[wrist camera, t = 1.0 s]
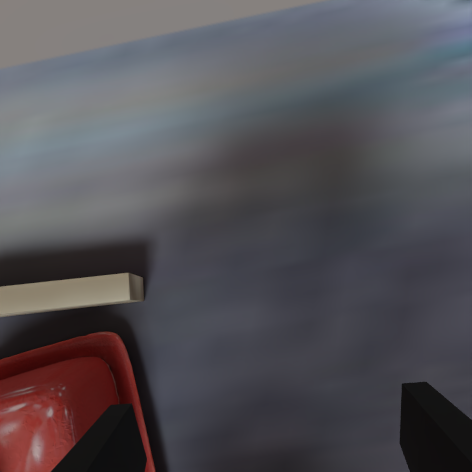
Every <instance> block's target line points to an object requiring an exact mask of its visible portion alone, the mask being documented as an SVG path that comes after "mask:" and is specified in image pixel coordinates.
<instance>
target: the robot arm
mask: <svg viewBox="0 0 472 472" xmlns="http://www.w3.org/2000/svg"><path fill="white" fill-rule="evenodd" d="M400 446H401V448H402V451H403V454H404V456H405V459H406V462H407V465H408V467H409V470H410V472H472V420H471V419H470V418H469V417H467V416H466V415H465V414H464V413H463V412H461V411H460V410H459V409H458V408H457V407H456V406H454V405H453V404H452V403H451V402H450V401H448V400H447V399H446V398H445V397H444V396H443V395H441V394H440V393H439V392H438V391H437V390H435V389H434V388H433V387H432V386H431V385H429V384H428V383H427V382H418V383H404V384H402V397H401V423H400ZM146 463H147V456H146V453H145V449H144V445H143V442H142V438H141V434H140V431H139V427H138V423H137V420H136V416H135V412H134V409H133V405H132V403H129V404H115V405H110V406H109V407H108V408H107V409H106V410H105V411H104V413H103V414H102V415H101V416H100V417H99V418H98V419H97V420H96V422H95V423H94V424H93V425H92V426H91V427H90V428H89V429H88V431H87V432H86V433H85V434H84V435H83V436H82V437H81V439H80V440H79V441H78V442H77V443H76V444H75V445H74V446H73V448H72V449H71V450H70V451H69V452H68V453H67V454H66V455H65V457H64V458H63V459H62V460H61V461H60V462H59V463H58V464H57V465H56V466H55V467H54V469H53V470H52V471H51V472H145V468H146Z"/></svg>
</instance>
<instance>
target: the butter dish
mask: <svg viewBox="0 0 472 472" xmlns="http://www.w3.org/2000/svg"><path fill="white" fill-rule="evenodd" d="M129 403H132V405H133V409H134V412H135V416H136V420H137V423H138V427H139V431H140V434H141V438H142V442H143V445H144V449H145V453H146V456H147V463H146V468H145V472H156V471H155V466H154V462H153V457H152V453H151V448H150V444H149V438H148V435H147V431H146V426H145V422H144V418H143V413H142V408H141V403H140V399H139V395H138V390H137V387H136V382H135V377H134V373H133V370H132V365H131V362H130V359H129V356H128V352H127V350H126V347H125V345H124V343H123V341H122V339H121V338H120V336H119V335H118V334H116V333H114V332H108V331H104V332H97V333H93V334H88V335H86V336H78V337H76V338H72V339H69V340H65V341H61V342H58V343H55V344H52V345H48V346H44V347H40V348H37V349H33V350H30V351H27V352H24V353H20V354H17V355H13V356H11V357H7V358H3V359H0V472H51V471H52V470H53V469H54V467H55V466H56V465H57V464H58V463H59V462H60V461H61V460H62V459H63V458H64V457H65V455H66V454H67V453H68V452H69V451H70V450H71V449H72V448H73V446H74V445H75V444H76V443H77V442H78V441H79V440H80V439H81V437H82V436H83V435H84V434H85V433H86V432H87V431H88V429H89V428H90V427H91V426H92V425H93V424H94V423H95V422H96V420H97V419H98V418H99V417H100V416H101V415H102V414H103V413H104V411H105V410H106V409H107V408H108V407H109V406H110V405H115V404H129Z"/></svg>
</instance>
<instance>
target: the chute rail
mask: <svg viewBox="0 0 472 472" xmlns="http://www.w3.org/2000/svg"><path fill="white" fill-rule="evenodd" d="M139 301H144V290H143V277H140V276H137V275H134V274H131V273H121V274H112V275H103V276H94V277H85V278H76V279H67V280H57V281H48V282H39V283H30V284H21V285H12V286H3V287H0V317H5V316H14V315H23V314H32V313H41V312H50V311H59V310H68V309H77V308H86V307H95V306H103V305H112V304H121V303H130V302H139Z"/></svg>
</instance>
